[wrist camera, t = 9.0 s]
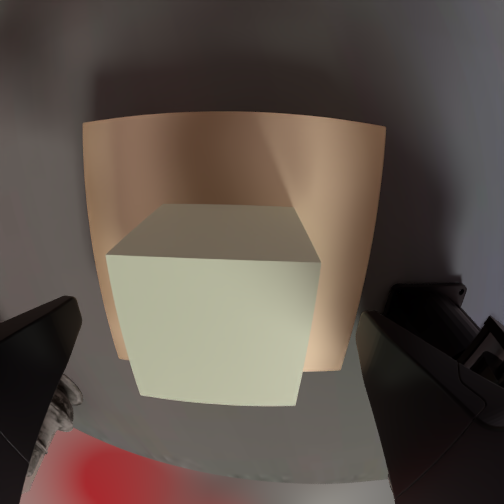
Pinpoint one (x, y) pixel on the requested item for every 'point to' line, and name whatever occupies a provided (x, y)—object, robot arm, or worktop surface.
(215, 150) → the oak riser block
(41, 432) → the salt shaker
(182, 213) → the sage cube
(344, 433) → the worktop surface
